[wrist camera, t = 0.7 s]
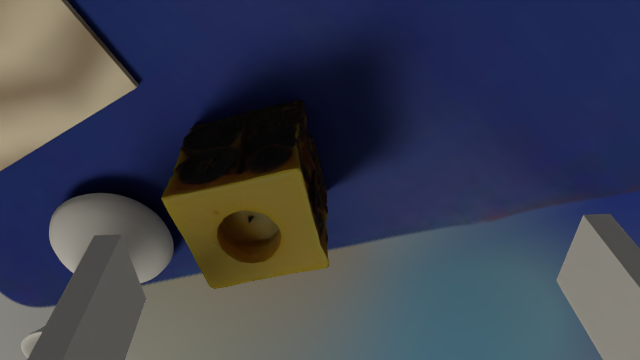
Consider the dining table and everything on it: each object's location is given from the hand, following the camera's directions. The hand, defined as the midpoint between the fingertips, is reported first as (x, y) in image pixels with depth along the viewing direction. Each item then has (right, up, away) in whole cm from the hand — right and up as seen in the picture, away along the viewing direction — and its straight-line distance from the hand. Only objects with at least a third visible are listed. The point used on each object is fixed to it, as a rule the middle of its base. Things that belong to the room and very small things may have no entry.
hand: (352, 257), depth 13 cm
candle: (-6, +4, +28) cm, 29 cm away
